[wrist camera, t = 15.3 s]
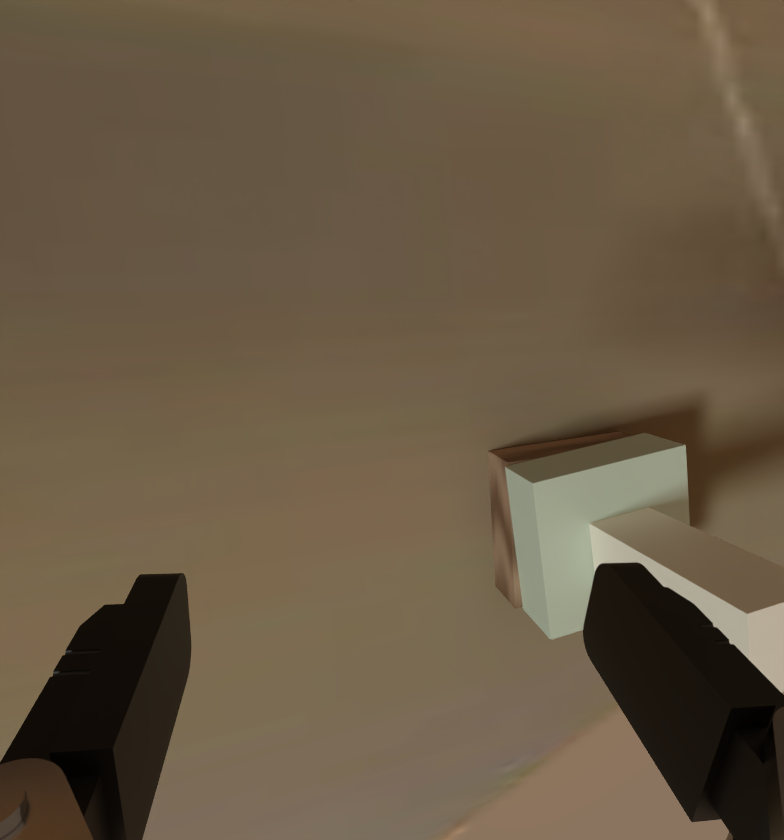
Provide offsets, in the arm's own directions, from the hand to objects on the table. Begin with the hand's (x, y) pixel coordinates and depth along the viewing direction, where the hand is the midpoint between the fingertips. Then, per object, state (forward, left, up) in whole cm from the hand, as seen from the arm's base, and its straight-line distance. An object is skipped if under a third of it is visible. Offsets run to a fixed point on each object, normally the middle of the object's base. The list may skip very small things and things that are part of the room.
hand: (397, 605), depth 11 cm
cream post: (+11, +19, -20) cm, 30 cm away
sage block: (+10, +19, -24) cm, 32 cm away
